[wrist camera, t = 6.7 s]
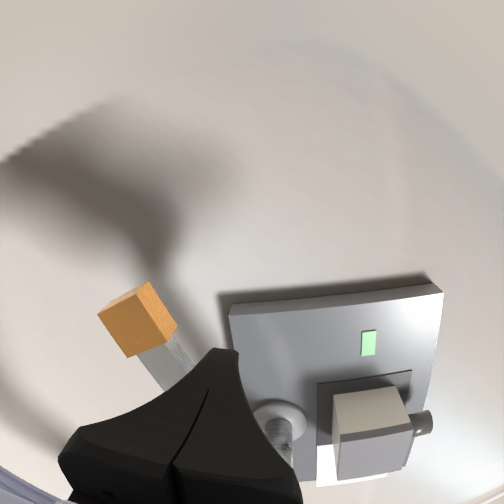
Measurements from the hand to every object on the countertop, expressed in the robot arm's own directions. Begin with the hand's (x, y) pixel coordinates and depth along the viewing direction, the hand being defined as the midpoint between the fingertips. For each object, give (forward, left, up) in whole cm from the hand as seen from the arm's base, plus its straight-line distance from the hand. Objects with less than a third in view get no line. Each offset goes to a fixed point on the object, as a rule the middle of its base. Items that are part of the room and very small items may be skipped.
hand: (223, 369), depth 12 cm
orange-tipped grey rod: (-1, -3, -5) cm, 6 cm away
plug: (+7, -8, -5) cm, 12 cm away
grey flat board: (+5, -8, -7) cm, 12 cm away
